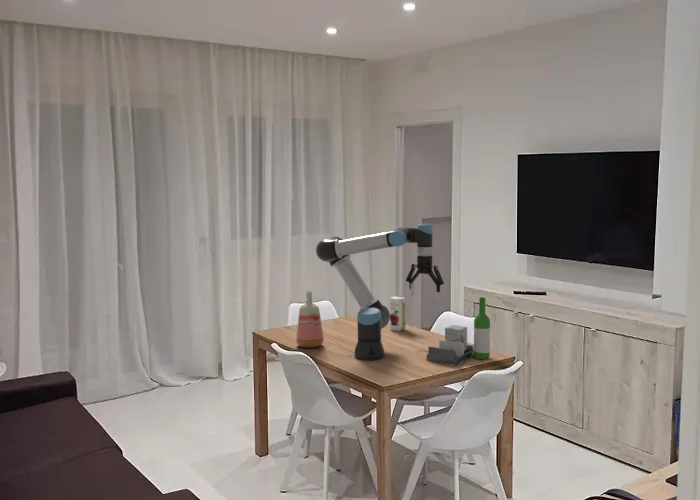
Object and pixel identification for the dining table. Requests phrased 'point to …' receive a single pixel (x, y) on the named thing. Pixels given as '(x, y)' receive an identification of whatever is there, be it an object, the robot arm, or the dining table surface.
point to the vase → (309, 325)
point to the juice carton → (397, 313)
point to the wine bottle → (481, 333)
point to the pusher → (452, 346)
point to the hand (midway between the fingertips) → (424, 297)
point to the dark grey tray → (448, 355)
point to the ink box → (456, 334)
